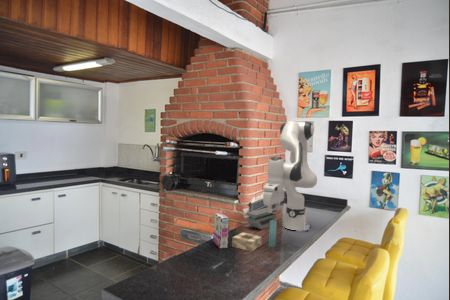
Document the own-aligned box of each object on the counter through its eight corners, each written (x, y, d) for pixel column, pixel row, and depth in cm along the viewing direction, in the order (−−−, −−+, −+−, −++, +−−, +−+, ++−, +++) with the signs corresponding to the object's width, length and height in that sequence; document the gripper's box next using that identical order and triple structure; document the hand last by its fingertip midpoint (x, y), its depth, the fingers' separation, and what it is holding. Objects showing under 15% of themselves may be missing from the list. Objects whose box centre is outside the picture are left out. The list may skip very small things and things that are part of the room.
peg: (270, 244, 167) (271, 219, 167) (276, 246, 165) (277, 221, 165) (267, 246, 164) (268, 221, 164) (273, 247, 162) (274, 222, 162)
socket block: (242, 240, 171) (243, 232, 171) (261, 245, 165) (261, 236, 165) (231, 246, 161) (232, 237, 161) (251, 251, 155) (251, 242, 155)
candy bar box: (228, 248, 159) (229, 217, 158) (219, 249, 157) (220, 218, 156) (221, 241, 169) (222, 212, 168) (212, 242, 167) (214, 213, 167)
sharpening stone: (266, 222, 213) (267, 207, 212) (276, 224, 207) (277, 209, 207) (245, 229, 194) (246, 212, 194) (255, 232, 189) (256, 215, 188)
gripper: (277, 184, 174) (275, 207, 174) (261, 187, 157) (260, 213, 157) (287, 185, 170) (286, 209, 171) (272, 189, 153) (271, 215, 154)
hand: (273, 211), depth 164 cm, fingers open, 8 cm apart
